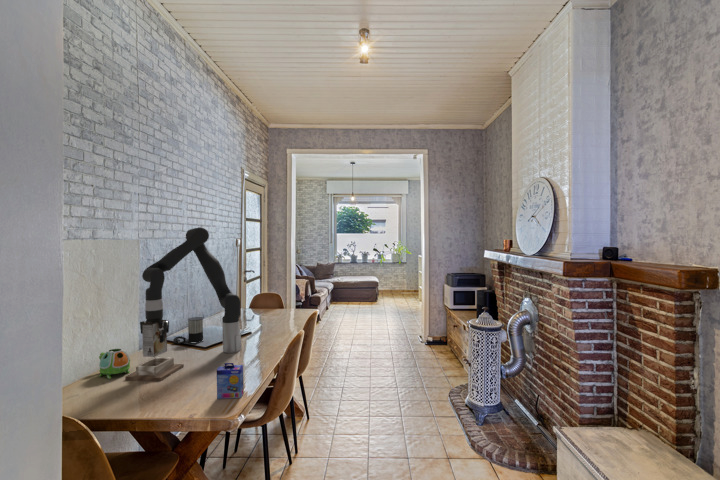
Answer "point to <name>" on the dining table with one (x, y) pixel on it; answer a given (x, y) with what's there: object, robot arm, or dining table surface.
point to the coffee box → (153, 339)
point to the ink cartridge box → (230, 381)
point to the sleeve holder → (155, 369)
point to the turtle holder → (114, 362)
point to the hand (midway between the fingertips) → (155, 342)
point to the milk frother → (193, 331)
